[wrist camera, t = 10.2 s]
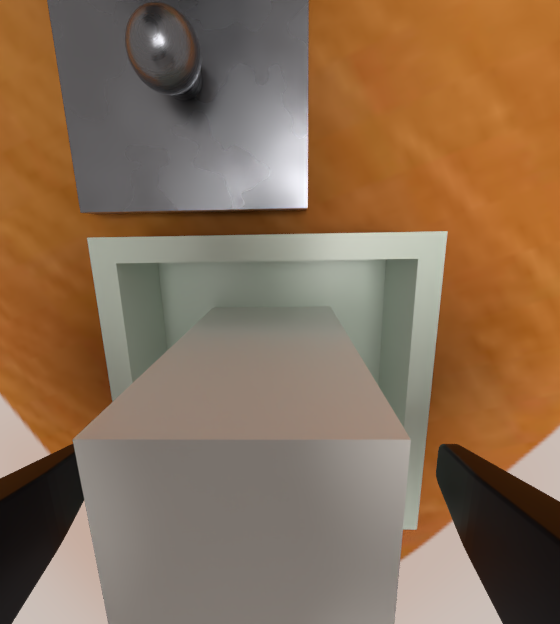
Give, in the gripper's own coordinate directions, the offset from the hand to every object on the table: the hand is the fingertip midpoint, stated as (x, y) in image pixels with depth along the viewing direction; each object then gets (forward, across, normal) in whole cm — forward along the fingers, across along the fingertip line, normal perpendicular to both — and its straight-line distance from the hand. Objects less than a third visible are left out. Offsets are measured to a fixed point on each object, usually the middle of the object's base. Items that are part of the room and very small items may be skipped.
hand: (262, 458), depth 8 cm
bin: (+7, 0, 0) cm, 7 cm away
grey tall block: (+6, 0, 0) cm, 6 cm away
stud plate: (+7, +3, -11) cm, 13 cm away
